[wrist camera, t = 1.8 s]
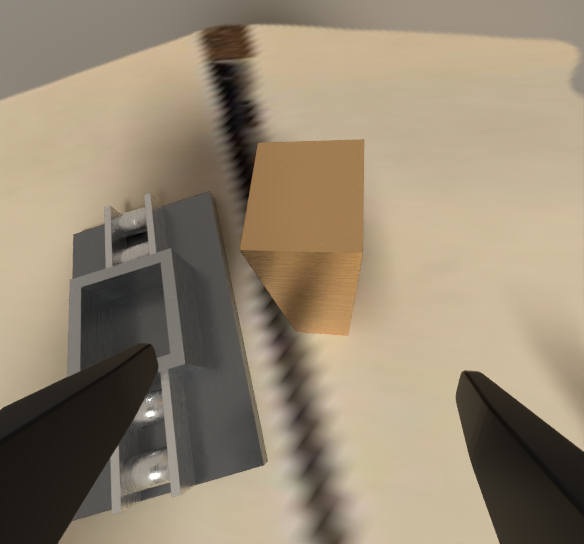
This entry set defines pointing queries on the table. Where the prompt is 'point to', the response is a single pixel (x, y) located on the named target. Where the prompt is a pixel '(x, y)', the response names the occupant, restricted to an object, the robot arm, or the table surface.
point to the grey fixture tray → (165, 348)
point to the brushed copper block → (308, 229)
